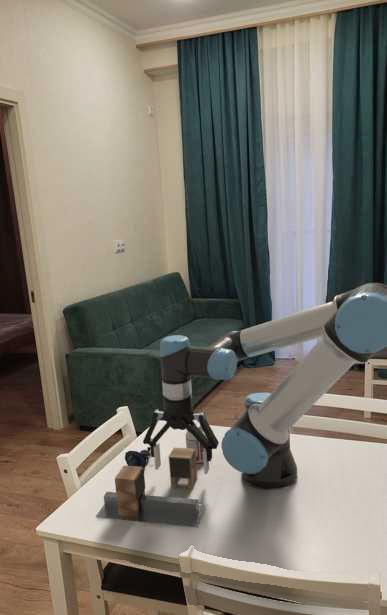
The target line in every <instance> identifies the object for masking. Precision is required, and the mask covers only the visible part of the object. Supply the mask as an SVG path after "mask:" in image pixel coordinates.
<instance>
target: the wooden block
mask: <svg viewBox="0 0 387 615" xmlns="http://www.w3.org/2000/svg"><path fill="white" fill-rule="evenodd" d="M144 469H145V468H143V467H138V466H128V465H123V466H122V467H121V469H120V470H119V471H118V473H117V474H116V476H115V478H114V485H115V486H114V487H115V492H116V496H117V505H118V515H121V516H131V517H138V516H139V505H138V500H139V498H140V496H141V495H146V481H145V480H146V479H145V470H144Z"/></svg>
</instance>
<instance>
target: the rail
mask: <svg viewBox="0 0 387 615" xmlns="http://www.w3.org/2000/svg"><path fill="white" fill-rule="evenodd" d="M138 505H139V516H138V517H131V516H121V515H118V505H117V496H116V491H115V492H113V491H106V492H105V493H104V495H103V505H102V507H101V508H100V509H99V511H98V512H97V514H96V515H95V518H101V519H109V520H120V521H128V522H129V521H131V522H139V523H149V524H159V525H168V526H177V527H179V526H181V527H187V528H188V527H189V528H197V529H198V528H199V526H200V524H201V520H202V519H203V515H204V514H205V510H206V507H207V504H205V503H200V501H199V499H194V498H184V497H173V496H171V497H170V496H161V495H160V496H158V495H152V494H151V495H149V494H145V495H141V496H140V498H139V500H138Z"/></svg>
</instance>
